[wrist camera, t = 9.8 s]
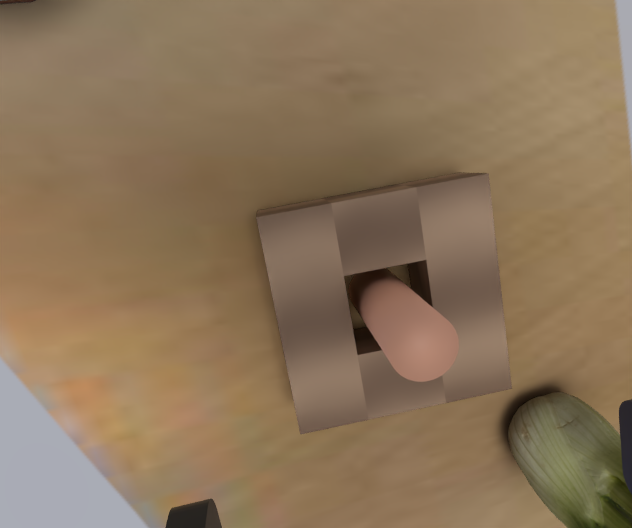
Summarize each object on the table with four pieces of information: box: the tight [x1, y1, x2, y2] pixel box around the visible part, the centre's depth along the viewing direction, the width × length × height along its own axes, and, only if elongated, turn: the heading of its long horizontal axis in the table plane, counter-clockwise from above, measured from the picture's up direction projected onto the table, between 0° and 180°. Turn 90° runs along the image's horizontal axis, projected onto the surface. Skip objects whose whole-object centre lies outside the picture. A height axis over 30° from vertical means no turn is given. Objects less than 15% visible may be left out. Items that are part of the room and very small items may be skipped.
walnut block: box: [256, 173, 512, 434], centre depth 29 cm, size 12×12×4 cm
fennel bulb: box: [508, 392, 632, 528], centre depth 28 cm, size 6×5×12 cm
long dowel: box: [349, 268, 459, 382], centre depth 26 cm, size 3×3×10 cm
